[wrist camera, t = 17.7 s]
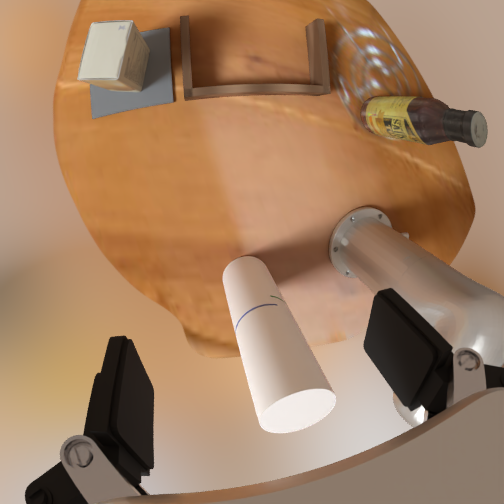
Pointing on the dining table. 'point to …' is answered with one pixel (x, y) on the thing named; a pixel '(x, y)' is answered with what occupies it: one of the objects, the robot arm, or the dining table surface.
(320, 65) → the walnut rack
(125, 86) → the skincare box
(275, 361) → the cylindrical container
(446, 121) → the sauce bottle
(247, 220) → the dining table surface
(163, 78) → the grey rubber mat
